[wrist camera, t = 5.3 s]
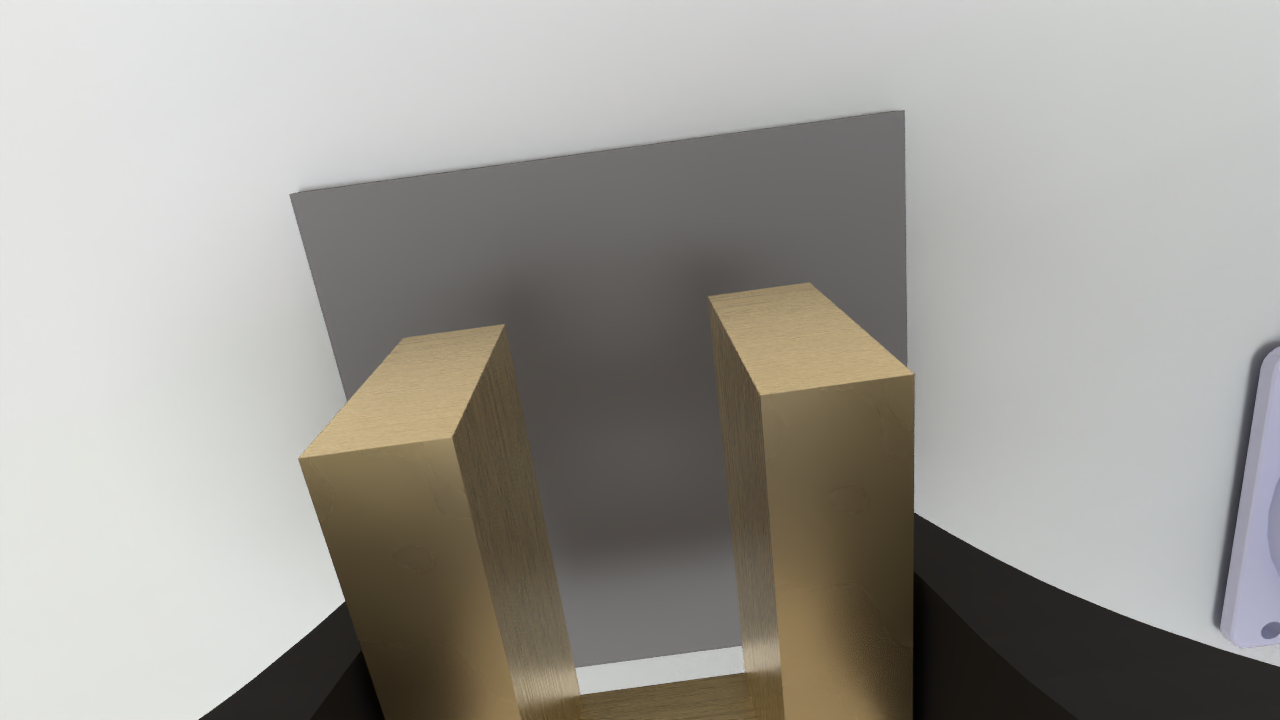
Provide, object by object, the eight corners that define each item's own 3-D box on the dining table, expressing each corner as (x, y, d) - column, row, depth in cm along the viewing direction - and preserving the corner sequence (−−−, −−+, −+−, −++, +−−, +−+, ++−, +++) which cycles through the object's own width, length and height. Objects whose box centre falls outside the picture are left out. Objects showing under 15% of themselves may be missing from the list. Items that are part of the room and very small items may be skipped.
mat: (896, 110, 14) (904, 110, 14) (903, 612, 18) (909, 622, 17) (297, 192, 14) (289, 194, 14) (431, 675, 18) (427, 687, 17)
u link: (830, 724, 12) (911, 948, 9) (514, 766, 12) (480, 1006, 9) (809, 282, 10) (914, 374, 6) (402, 338, 10) (297, 458, 6)
